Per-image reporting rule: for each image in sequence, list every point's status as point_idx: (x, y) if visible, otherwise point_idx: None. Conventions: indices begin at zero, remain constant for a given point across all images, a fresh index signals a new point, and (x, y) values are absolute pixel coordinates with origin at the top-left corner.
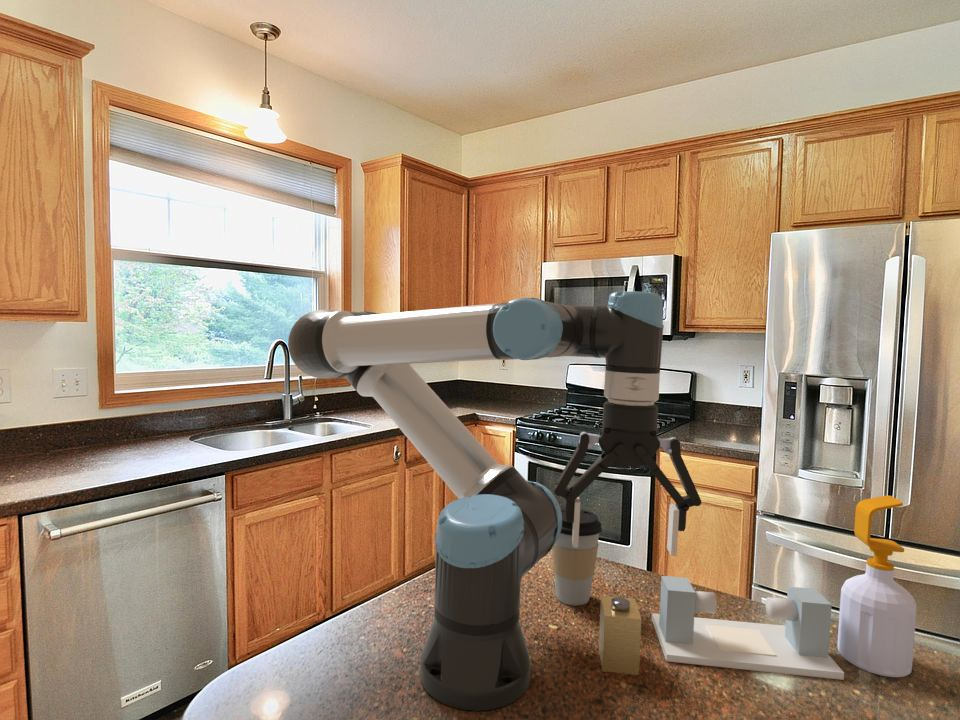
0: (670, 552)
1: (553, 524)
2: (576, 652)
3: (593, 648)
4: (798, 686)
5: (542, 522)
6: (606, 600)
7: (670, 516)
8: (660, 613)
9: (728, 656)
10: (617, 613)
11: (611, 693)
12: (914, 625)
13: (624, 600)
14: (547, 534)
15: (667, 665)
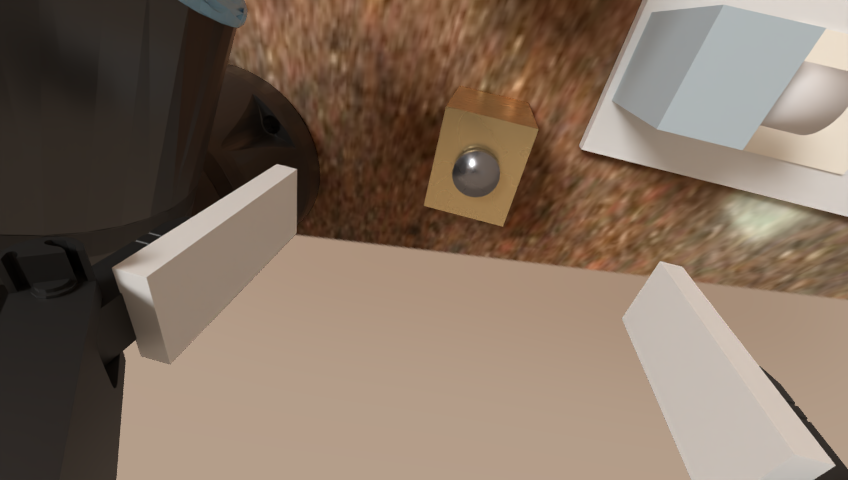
0: (629, 315)
1: (164, 55)
2: (409, 103)
3: (447, 90)
4: (786, 236)
5: (99, 158)
6: (451, 136)
7: (718, 413)
8: (659, 24)
9: (718, 165)
10: (456, 199)
11: (437, 217)
12: None
13: (488, 170)
14: (169, 139)
15: (573, 157)
